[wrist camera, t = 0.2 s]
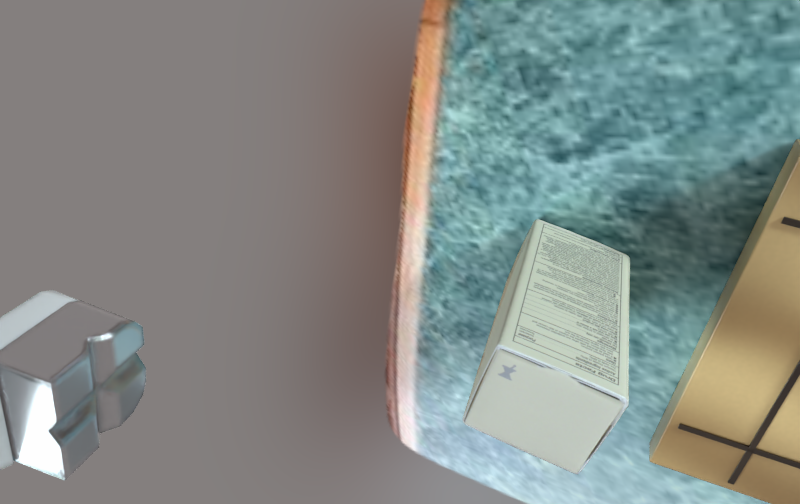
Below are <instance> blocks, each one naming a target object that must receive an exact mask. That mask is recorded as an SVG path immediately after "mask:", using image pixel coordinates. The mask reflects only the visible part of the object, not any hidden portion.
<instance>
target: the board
mask: <svg viewBox="0 0 800 504" xmlns="http://www.w3.org/2000/svg"><path fill="white" fill-rule="evenodd" d="M650 462H652V463H655V464H658V465H661V466H664V467H666V468H669V469H672V470H675V471H678V472H681V473H684V474H687V475H690V476H693V477H696V478H698V479H701V480H704V481H707V482H710V483H713V484H716V485H719V486H722V487H725V488H728V489H730V490H733V491H736V492H739V493H742V494H745V495H748V496H751V497H754V498H757V499H760V500H762V501H765V502H768V503H771V504H800V140H799V139H797V140H796V141H795V142H794V145H793V147H792V149H791V151H790V153H789V155H788V157H787V159H786V161H785V163H784V165H783V167H782V169H781V171H780V174H779V176H778V178H777V180H776V182H775V184H774V186H773V188H772V190H771V192H770V194H769V196H768V198H767V201H766V203H765V205H764V207H763V209H762V211H761V213H760V215H759V217H758V219H757V221H756V223H755V225H754V227H753V230H752V232H751V234H750V236H749V238H748V240H747V242H746V244H745V246H744V248H743V250H742V252H741V254H740V256H739V259H738V261H737V263H736V265H735V267H734V269H733V271H732V273H731V275H730V277H729V279H728V281H727V283H726V286H725V288H724V290H723V292H722V294H721V296H720V298H719V300H718V302H717V304H716V306H715V308H714V310H713V312H712V315H711V317H710V319H709V321H708V323H707V325H706V327H705V329H704V331H703V333H702V335H701V337H700V339H699V342H698V344H697V346H696V348H695V350H694V352H693V354H692V356H691V358H690V360H689V362H688V364H687V366H686V368H685V371H684V373H683V375H682V377H681V379H680V381H679V383H678V385H677V387H676V389H675V391H674V393H673V395H672V398H671V400H670V402H669V404H668V406H667V408H666V410H665V412H664V414H663V416H662V418H661V420H660V422H659V424H658V427H657V429H656V431H655V433H654V435H653V437H652V439H651V441H650Z"/></svg>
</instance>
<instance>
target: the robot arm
mask: <svg viewBox="0 0 800 504" xmlns="http://www.w3.org/2000/svg"><path fill="white" fill-rule="evenodd" d="M143 345H144V338H143V327H142V326H141V325H139V324H138V323H136V322H134V321H132V320H129V319H127V318H124V317H122V316H119V315H117V314H114V313H111V312H109V311H107V310H104V309H101V308H99V307H96V306H94V305H91V304H89V303H86V302H84V301H81V300H77V299H74V298H72V297H69V296H67V295H64V294H61V293H59V292H56V291H54V290H50V291H43V292H40V293H38V294H36V295H35V296H33V297H32V298H30V299H29V300H27V301H25V302H24V303H22V304H21V305H19V306H18V307H16V308H15V309H13V310H11V311H10V312H8V313H7V314H5V315H4V316H2V317H1V318H0V470H1V469H3V468H6V467H8V466H10V465H12V464H13V463H14V462H13V460H14V461H17V462H19V463H22V464H24V465H27V466H30V467H33V468H35V469H37V470H40V471H42V472H45V473H48V474H50V475H53V476H56V477H58V478H60V479H63V480H66V479H67V478H68V477H69V476H70V475H71V474H72V473H73V472H74V471H75V470H76V469H77V468H78V467H80V466H81V465H82V464H83V463H84V462H85V461H86V460H87V459H88V458H89V457H90V456H91V455H92V454H93V452H95V451H96V450H97V449H98V448H99V439H100V433H102V432H105V431H108V430H111V429H114V428H117V427H119V426H121V424H123V422H124V421H125V420H126V419H127V418H128V417H129V416H130V415H131V414H132V413H133V412H134V409H135V408H136V406H137V404H138V403H139V401H140V399H141V397H142V395H143V392H144V387H145V382H146V368H145V366H144V364H143V363H142V361H141V360H140V358H139V356H138V355H137V353H136V352H137V351H138V350H139V349H140V348H141V347H142V346H143Z"/></svg>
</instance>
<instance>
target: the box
mask: <svg viewBox="0 0 800 504" xmlns="http://www.w3.org/2000/svg"><path fill="white" fill-rule="evenodd" d="M629 287H630V258H629V256H628V255H626V254H624V253H621V252H619V251H617V250H615V249H613V248H610V247H608V246H606V245H603V244H601V243H599V242H596V241H594V240H591V239H589V238H586V237H583V236H581V235H578V234H576V233H573V232H571V231H568V230H566V229H563V228H561V227H558V226H555V225H552V224H550V223H547V222H545V221H542V220H539V219H536V220H535V221H534V222H533V224H532V226H531V228H530V230H529V232H528V234H527V236H526V238H525V240H524V242H523V244H522V247H521V249H520V251H519V253H518V255H517V257H516V260H515V262H514V264H513V267H512V269H511V271H510V274H509V276H508V279H507V282H506V285H505V288H504V291H503V294H502V297H501V300H500V303H499V306H498V310H497V313H496V316H495V319H494V322H493V326H492V329H491V332H490V335H489V338H488V341H487V344H486V347H485V350H484V353H483V356H482V359H481V362H480V365H479V368H478V371H477V375H476V378H475V381H474V384H473V387H472V391H471V394H470V397H469V400H468V403H467V406H466V410H465V413H464V416H463V423H464V424H466V425H468V426H470V427H472V428H474V429H476V430H478V431H480V432H483V433H485V434H487V435H489V436H491V437H493V438H496V439H498V440H500V441H502V442H504V443H506V444H509V445H511V446H513V447H515V448H517V449H520V450H522V451H524V452H527V453H529V454H531V455H533V456H535V457H538V458H540V459H542V460H545V461H547V462H549V463H552V464H554V465H556V466H559V467H561V468H563V469H565V470H568V471H570V472H572V473H575V474H578V473H580V472H581V471H582V470H583V468H584V467H585V466H586V464H587V463H588V462H589V460H590V459H591V457H592V456H593V455H594V453H595V452H596V451H597V450H598V448H599V447H600V445H601V444H602V443H603V441H604V440H605V438H606V437H607V435H608V434H609V433H610V431H611V430H612V428H613V427H614V426H615V424H616V423H617V421H618V420H619V418H620V417H621V415H622V414H623V412H624V411H625V409H626V408H627V407H628V404H629V390H628V367H629Z"/></svg>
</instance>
